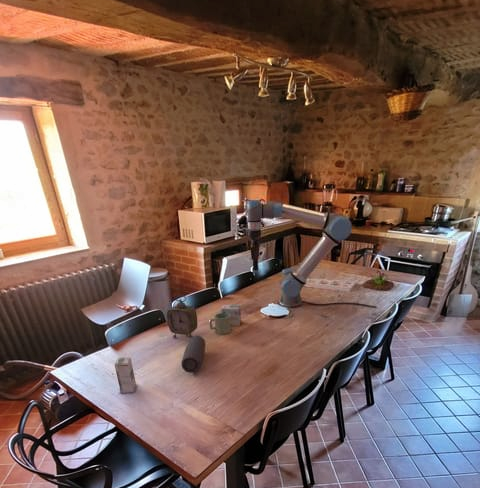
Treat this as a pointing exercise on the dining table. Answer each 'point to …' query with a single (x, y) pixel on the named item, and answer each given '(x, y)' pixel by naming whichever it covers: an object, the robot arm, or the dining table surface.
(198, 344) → the bluetooth speaker
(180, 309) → the tabletop clock
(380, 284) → the plant
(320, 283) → the holder
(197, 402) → the dining table surface
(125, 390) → the syrup box
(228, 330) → the mug
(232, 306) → the light bulb box
